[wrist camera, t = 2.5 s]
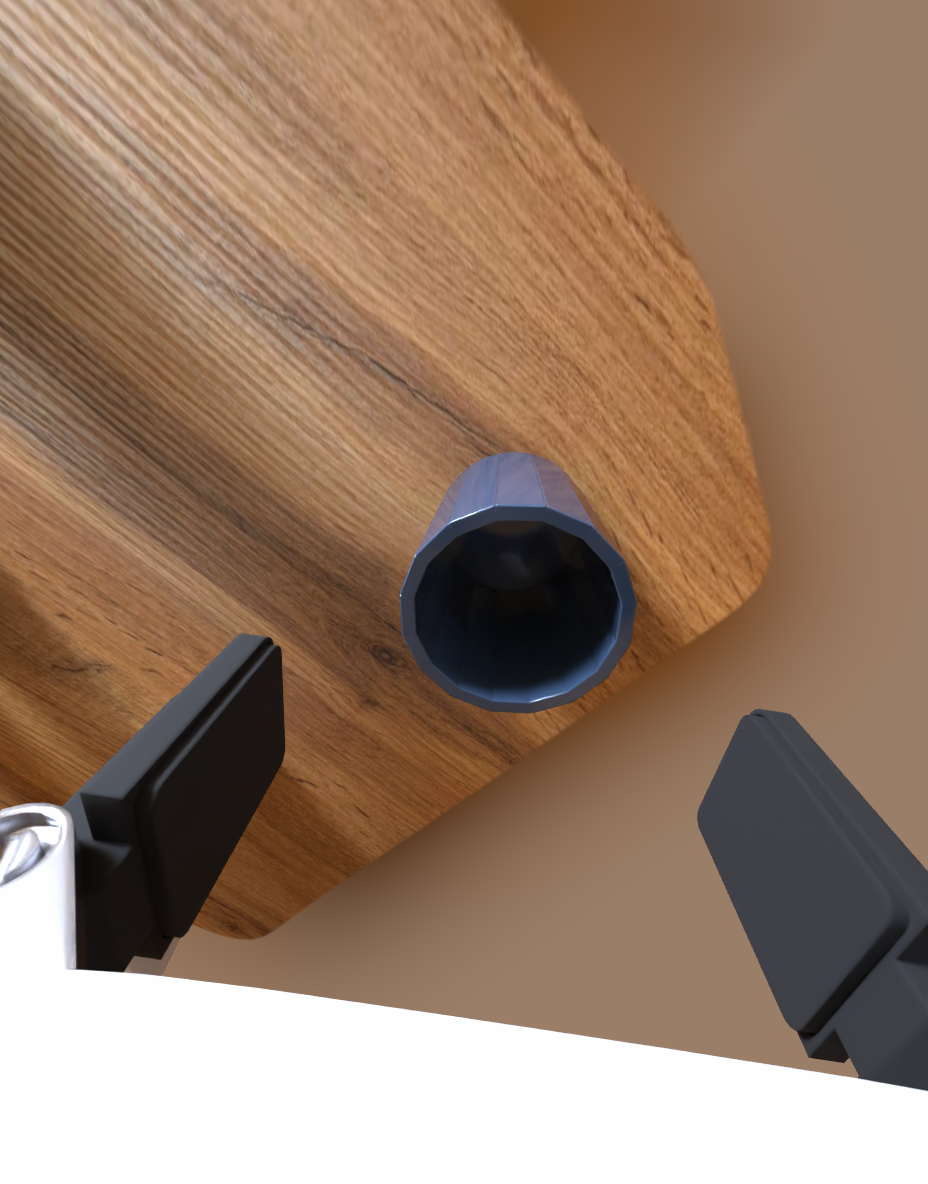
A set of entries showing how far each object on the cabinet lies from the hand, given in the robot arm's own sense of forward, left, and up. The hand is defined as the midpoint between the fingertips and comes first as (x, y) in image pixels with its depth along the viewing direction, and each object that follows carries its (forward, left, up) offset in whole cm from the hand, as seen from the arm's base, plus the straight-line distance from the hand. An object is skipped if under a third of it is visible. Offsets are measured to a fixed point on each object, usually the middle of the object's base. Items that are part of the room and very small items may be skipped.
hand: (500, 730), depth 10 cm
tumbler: (0, 0, -14) cm, 13 cm away
